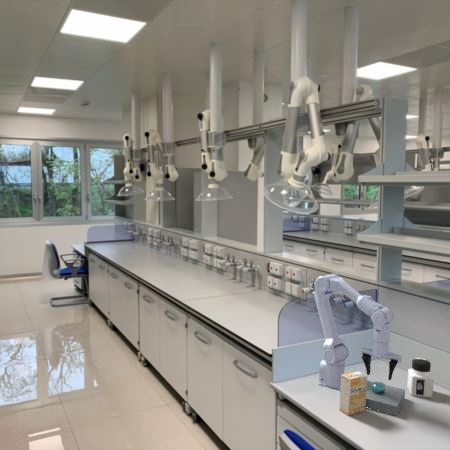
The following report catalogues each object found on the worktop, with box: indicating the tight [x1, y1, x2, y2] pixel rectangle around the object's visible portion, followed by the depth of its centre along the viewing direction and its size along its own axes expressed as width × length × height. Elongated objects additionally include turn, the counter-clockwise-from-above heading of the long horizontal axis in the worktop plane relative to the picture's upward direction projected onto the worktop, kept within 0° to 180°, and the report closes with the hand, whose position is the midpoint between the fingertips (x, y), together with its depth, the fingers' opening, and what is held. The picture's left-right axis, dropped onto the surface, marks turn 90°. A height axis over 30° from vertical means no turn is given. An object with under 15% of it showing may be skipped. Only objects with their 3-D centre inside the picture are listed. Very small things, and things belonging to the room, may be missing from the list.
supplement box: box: [339, 370, 368, 416], centre depth 155 cm, size 8×5×13 cm, turn 118°
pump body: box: [365, 380, 406, 417], centre depth 164 cm, size 16×16×4 cm
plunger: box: [372, 381, 386, 394], centre depth 163 cm, size 4×4×6 cm
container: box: [406, 357, 435, 399], centre depth 171 cm, size 8×8×13 cm
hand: (379, 376), depth 163 cm, fingers open, 7 cm apart
